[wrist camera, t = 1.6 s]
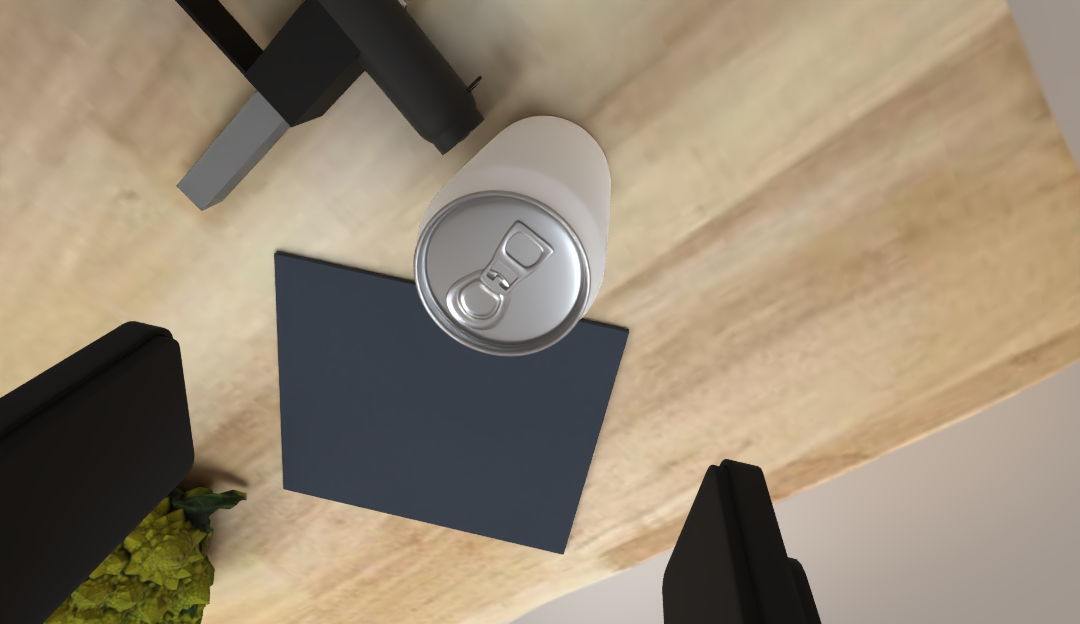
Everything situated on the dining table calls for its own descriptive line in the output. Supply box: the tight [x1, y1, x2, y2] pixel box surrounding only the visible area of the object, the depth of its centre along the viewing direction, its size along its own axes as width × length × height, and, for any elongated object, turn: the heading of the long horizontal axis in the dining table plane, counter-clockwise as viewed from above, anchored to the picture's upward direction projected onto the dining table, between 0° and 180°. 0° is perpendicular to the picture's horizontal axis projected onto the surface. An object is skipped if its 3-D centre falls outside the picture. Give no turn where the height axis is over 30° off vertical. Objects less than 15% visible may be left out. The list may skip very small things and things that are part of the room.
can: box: [414, 116, 611, 356], centre depth 23 cm, size 6×6×12 cm
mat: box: [274, 251, 629, 554], centre depth 36 cm, size 20×18×1 cm
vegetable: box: [43, 487, 247, 624], centre depth 40 cm, size 15×16×15 cm
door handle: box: [175, 0, 485, 211], centre depth 26 cm, size 3×20×16 cm
